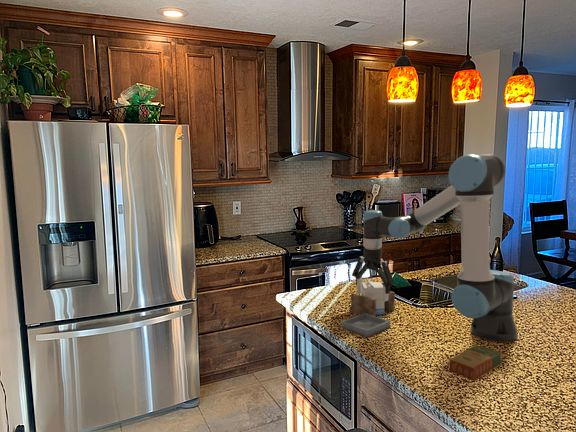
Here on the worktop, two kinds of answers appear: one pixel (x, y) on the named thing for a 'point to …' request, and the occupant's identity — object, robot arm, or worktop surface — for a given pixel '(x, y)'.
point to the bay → (369, 304)
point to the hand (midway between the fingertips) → (372, 296)
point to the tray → (366, 324)
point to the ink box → (374, 294)
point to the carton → (475, 362)
